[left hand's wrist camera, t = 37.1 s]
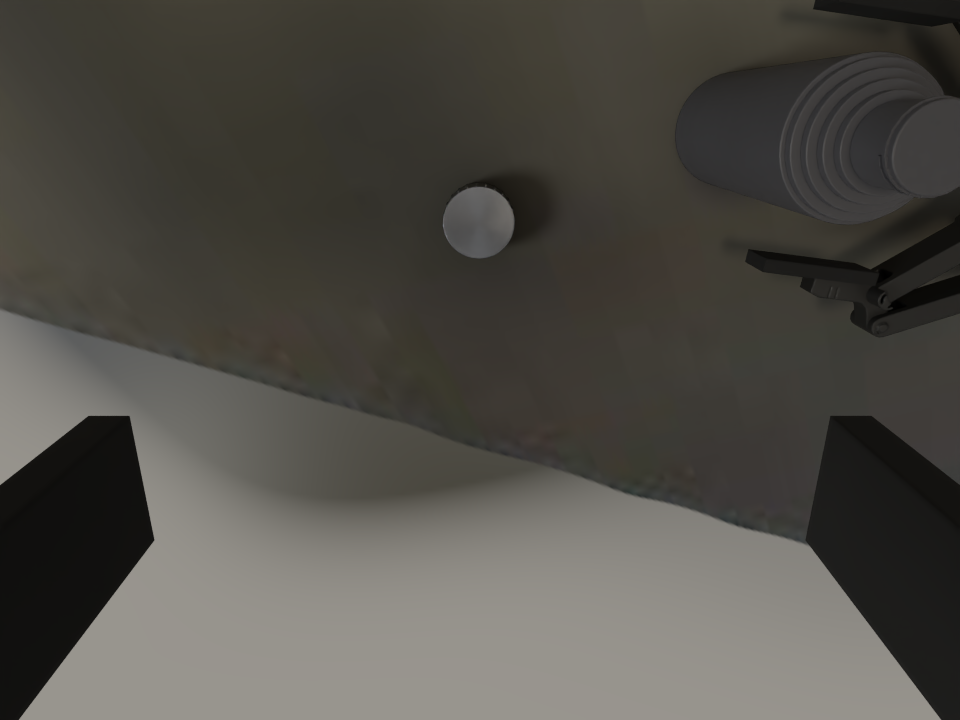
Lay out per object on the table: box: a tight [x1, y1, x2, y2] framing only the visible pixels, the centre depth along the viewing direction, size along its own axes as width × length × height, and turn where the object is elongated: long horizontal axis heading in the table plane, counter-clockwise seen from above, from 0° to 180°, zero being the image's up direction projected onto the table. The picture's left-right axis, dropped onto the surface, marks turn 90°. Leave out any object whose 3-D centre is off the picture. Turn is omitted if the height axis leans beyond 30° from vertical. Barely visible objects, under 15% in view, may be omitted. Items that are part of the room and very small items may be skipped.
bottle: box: [676, 52, 960, 225], centre depth 33 cm, size 7×7×21 cm
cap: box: [443, 182, 515, 258], centre depth 43 cm, size 5×5×2 cm
